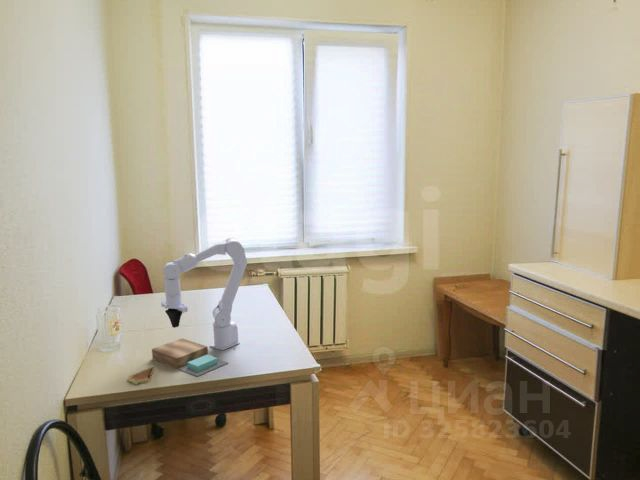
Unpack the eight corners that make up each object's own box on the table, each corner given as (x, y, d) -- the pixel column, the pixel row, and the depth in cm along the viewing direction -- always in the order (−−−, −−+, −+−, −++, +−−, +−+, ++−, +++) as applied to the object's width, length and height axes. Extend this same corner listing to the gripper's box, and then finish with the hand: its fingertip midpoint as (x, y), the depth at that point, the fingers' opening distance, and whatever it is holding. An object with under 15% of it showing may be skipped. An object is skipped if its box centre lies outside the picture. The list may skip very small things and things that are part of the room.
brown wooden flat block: (183, 347, 203) (182, 338, 202) (208, 356, 193) (207, 346, 192) (152, 358, 192) (151, 349, 191) (177, 368, 182) (176, 358, 181)
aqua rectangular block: (217, 358, 185) (217, 363, 185) (207, 354, 188) (207, 359, 189) (197, 366, 178) (198, 371, 178) (187, 362, 182) (187, 367, 182)
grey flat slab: (209, 356, 192) (208, 355, 192) (227, 363, 185) (227, 362, 185) (178, 369, 182) (178, 368, 182) (197, 376, 175) (197, 375, 175)
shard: (153, 370, 182) (153, 365, 182) (166, 375, 178) (165, 370, 177) (126, 381, 174) (126, 376, 174) (139, 386, 169) (138, 382, 169)
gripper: (153, 292, 196) (156, 326, 198) (175, 298, 187) (178, 333, 189) (168, 289, 201) (171, 321, 203) (191, 294, 192) (193, 328, 194)
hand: (175, 326), depth 197 cm, fingers closed
